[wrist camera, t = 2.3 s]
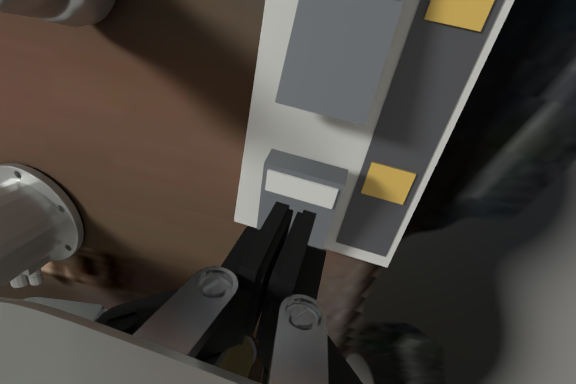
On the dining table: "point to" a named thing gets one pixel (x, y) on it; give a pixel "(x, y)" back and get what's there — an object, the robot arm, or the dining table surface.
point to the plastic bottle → (60, 10)
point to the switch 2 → (302, 190)
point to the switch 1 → (337, 56)
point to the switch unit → (374, 119)
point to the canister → (240, 358)
